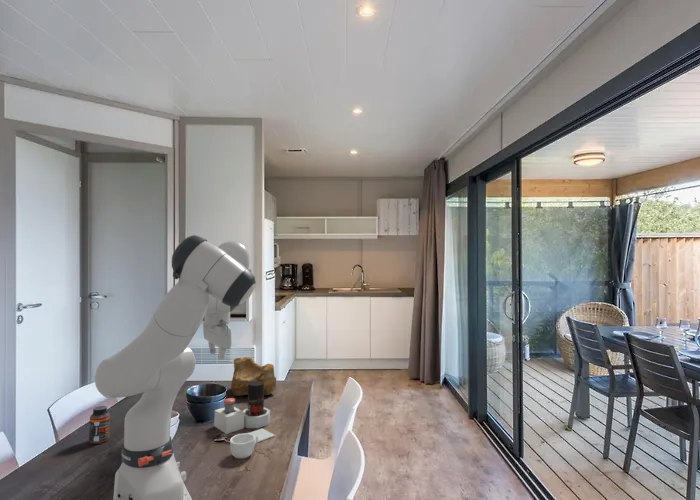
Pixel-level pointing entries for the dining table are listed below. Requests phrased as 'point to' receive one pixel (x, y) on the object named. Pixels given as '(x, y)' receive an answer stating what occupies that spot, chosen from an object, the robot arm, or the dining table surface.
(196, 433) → the dining table surface
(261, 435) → the pad
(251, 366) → the rough brown rock
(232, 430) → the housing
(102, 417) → the supplement bottle
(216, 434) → the dining table surface
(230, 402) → the plunger
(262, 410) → the deodorant
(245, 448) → the teacup
